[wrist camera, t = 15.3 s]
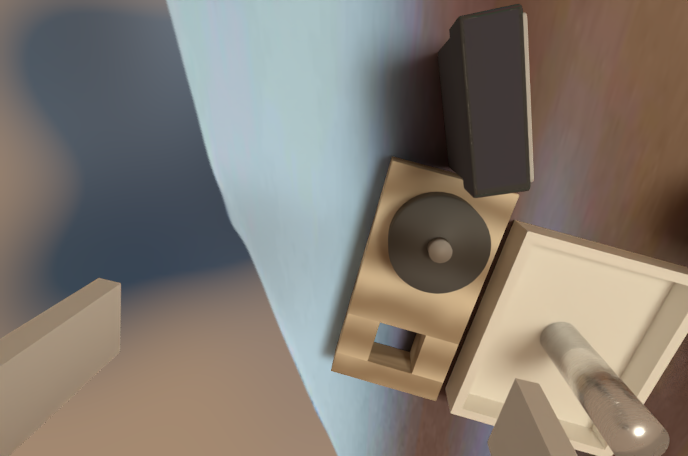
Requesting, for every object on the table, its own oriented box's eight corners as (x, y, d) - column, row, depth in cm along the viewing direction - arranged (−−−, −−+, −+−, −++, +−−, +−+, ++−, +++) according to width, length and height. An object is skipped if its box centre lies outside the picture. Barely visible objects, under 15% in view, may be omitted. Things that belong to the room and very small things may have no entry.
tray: (514, 219, 40) (527, 230, 36) (686, 266, 39) (718, 283, 36) (445, 388, 47) (450, 413, 43) (591, 430, 46) (609, 459, 42)
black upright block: (486, 161, 39) (544, 190, 24) (442, 168, 39) (474, 200, 25) (477, 43, 36) (537, -3, 21) (430, 53, 36) (458, 14, 22)
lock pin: (548, 317, 42) (625, 414, 28) (585, 327, 41) (679, 429, 28) (534, 348, 43) (601, 454, 29) (569, 358, 43) (653, 469, 29)
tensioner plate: (392, 156, 39) (393, 166, 32) (506, 187, 39) (536, 205, 31) (335, 349, 47) (325, 397, 39) (431, 377, 46) (440, 430, 39)
